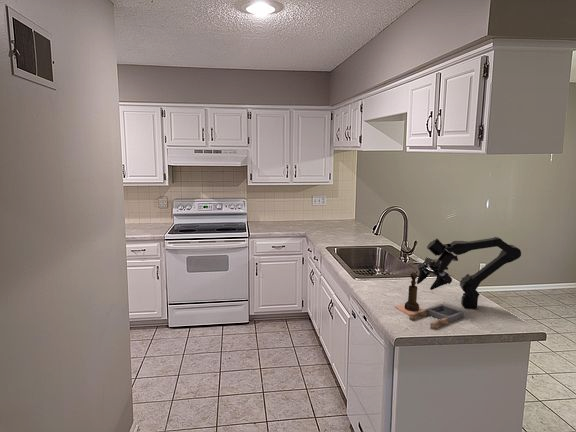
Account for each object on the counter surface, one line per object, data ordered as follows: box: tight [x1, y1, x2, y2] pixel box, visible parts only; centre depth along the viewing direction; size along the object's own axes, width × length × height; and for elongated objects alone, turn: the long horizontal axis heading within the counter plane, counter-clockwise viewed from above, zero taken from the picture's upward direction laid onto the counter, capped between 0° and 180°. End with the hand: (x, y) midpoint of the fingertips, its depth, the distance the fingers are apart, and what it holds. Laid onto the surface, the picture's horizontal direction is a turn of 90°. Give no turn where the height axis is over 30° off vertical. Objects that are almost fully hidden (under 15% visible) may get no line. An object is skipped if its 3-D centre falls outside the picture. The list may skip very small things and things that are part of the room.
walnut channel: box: [408, 308, 449, 330], centre depth 187 cm, size 11×12×2 cm
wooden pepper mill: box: [404, 271, 420, 311], centre depth 198 cm, size 7×6×18 cm
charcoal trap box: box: [426, 303, 465, 324], centre depth 194 cm, size 12×12×2 cm
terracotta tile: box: [394, 304, 425, 316], centre depth 200 cm, size 11×11×1 cm
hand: (423, 286), depth 201 cm, fingers open, 9 cm apart
